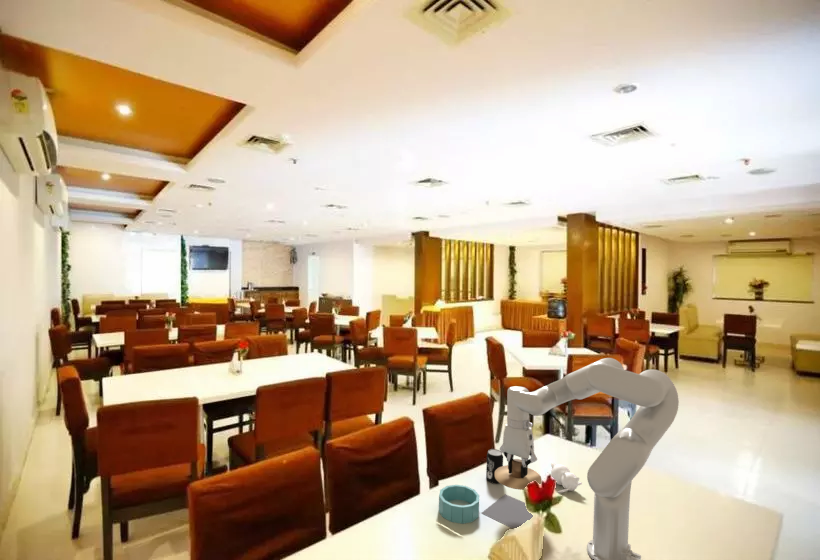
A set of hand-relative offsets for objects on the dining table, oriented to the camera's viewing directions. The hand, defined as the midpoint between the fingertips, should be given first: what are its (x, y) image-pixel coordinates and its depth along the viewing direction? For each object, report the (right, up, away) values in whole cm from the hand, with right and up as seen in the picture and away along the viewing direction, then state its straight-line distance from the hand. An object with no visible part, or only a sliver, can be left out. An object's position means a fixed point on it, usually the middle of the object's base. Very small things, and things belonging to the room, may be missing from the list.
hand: (517, 473), depth 141 cm
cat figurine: (+23, -15, +20) cm, 34 cm away
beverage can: (-3, -14, +23) cm, 28 cm away
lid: (0, -1, 0) cm, 1 cm away
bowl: (-21, -14, +1) cm, 25 cm away
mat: (-1, -15, +1) cm, 15 cm away
